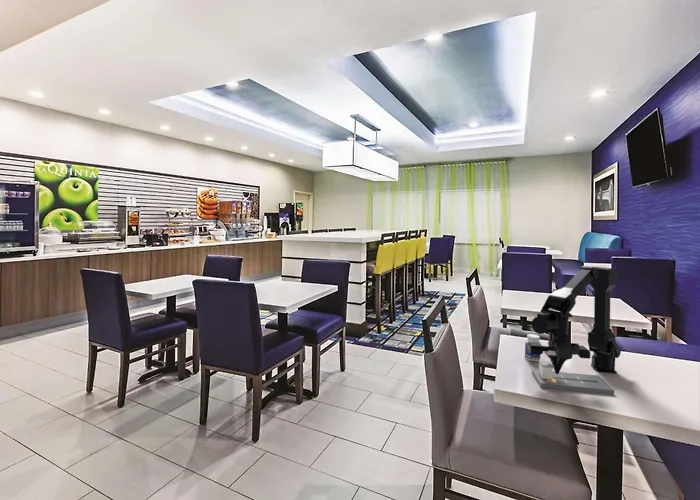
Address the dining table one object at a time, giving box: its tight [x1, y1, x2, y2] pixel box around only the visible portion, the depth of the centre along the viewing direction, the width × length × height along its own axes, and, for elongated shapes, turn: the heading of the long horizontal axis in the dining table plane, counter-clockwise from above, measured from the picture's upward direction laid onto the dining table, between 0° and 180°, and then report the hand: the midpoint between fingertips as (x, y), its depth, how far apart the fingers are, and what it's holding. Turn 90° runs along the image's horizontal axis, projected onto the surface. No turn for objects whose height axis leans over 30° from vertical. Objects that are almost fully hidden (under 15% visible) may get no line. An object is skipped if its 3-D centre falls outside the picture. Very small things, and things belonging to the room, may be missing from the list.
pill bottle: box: [524, 333, 542, 362], centre depth 149 cm, size 6×6×10 cm
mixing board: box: [531, 369, 615, 396], centre depth 126 cm, size 22×12×2 cm, turn 76°
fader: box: [538, 359, 554, 379], centre depth 128 cm, size 3×5×5 cm, turn 166°
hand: (556, 373), depth 127 cm, fingers closed
